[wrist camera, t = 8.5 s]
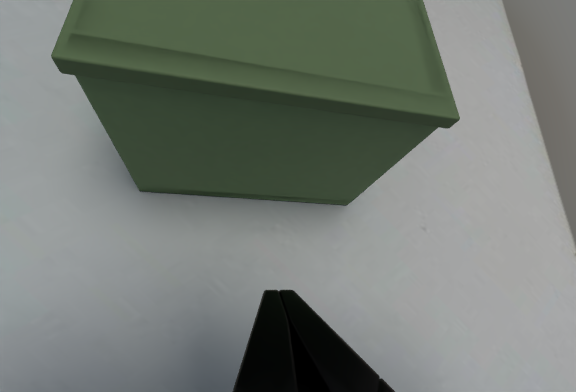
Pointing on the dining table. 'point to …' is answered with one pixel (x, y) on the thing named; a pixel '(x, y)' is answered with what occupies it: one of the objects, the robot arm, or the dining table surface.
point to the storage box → (259, 91)
